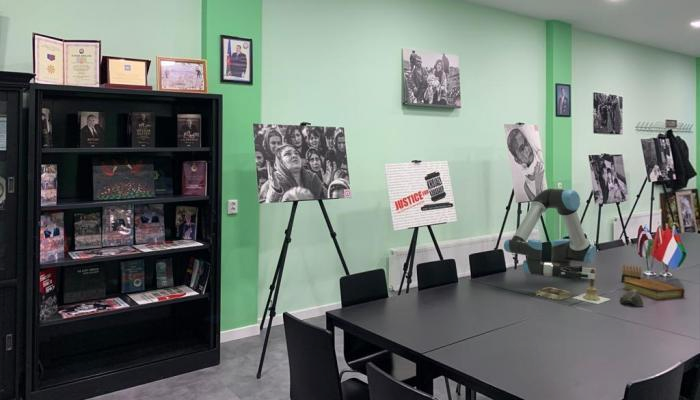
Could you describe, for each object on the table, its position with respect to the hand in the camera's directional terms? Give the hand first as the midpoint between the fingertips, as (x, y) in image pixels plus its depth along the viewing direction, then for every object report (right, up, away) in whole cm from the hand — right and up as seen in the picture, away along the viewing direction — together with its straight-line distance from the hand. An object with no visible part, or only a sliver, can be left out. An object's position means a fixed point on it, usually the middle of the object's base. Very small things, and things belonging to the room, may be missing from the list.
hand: (595, 273), depth 270 cm
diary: (+39, -14, +15) cm, 44 cm away
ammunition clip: (+39, -11, +36) cm, 55 cm away
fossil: (+15, -15, -6) cm, 22 cm away
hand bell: (-1, -14, +2) cm, 14 cm away
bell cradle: (-19, -13, +8) cm, 25 cm away
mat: (-1, -14, +2) cm, 14 cm away
